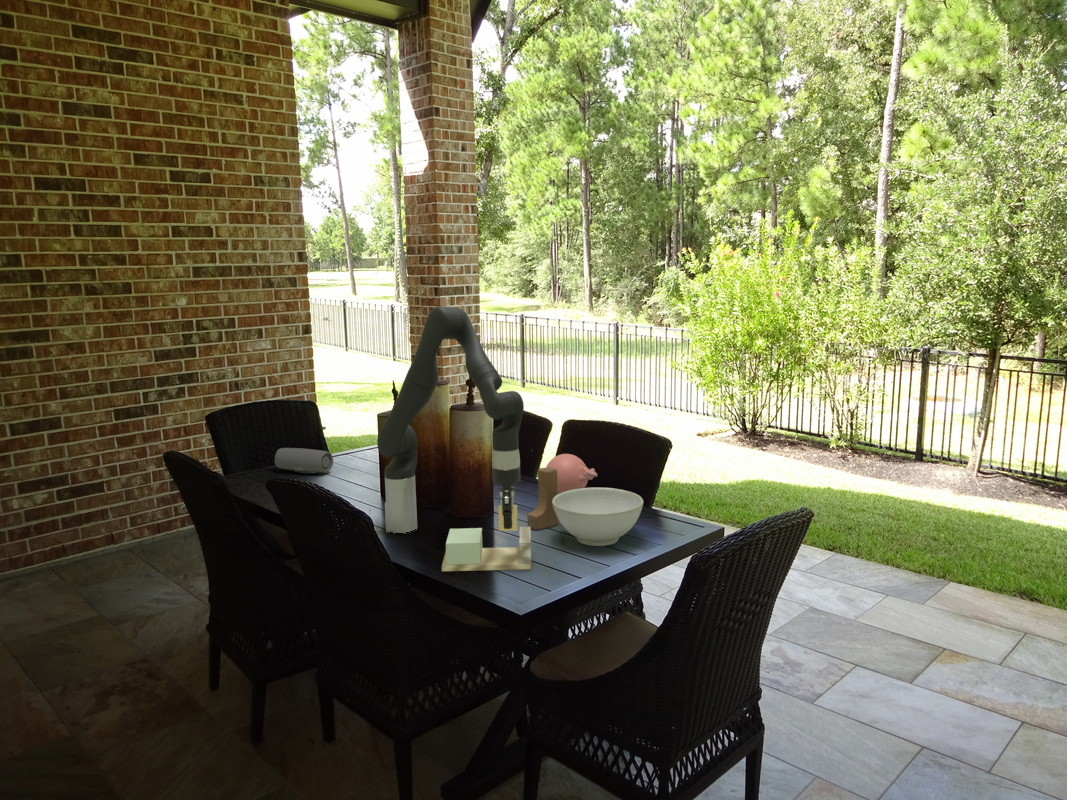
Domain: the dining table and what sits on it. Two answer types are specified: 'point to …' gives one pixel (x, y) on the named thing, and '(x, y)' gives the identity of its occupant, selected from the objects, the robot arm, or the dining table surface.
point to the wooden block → (544, 500)
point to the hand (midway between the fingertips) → (508, 525)
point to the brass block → (514, 519)
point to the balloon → (571, 472)
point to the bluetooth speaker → (303, 459)
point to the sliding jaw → (464, 546)
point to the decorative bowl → (597, 513)
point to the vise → (500, 557)
